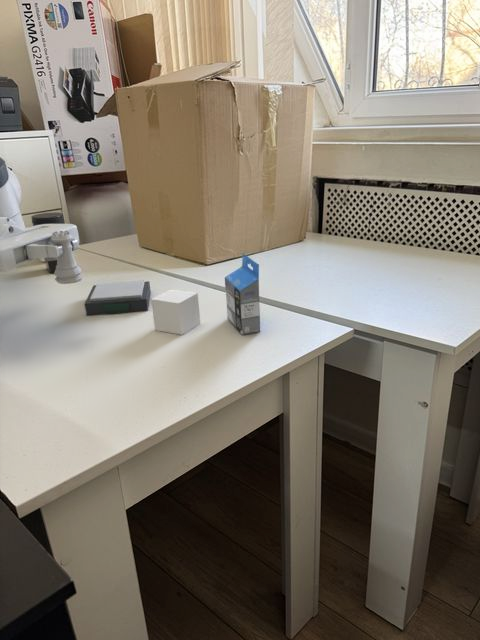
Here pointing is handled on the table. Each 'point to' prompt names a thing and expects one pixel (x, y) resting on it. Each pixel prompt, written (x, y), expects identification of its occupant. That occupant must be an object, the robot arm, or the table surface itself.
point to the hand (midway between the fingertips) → (68, 248)
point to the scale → (118, 297)
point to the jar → (47, 220)
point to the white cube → (176, 311)
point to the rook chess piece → (66, 260)
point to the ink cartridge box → (244, 297)
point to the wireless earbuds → (51, 263)
